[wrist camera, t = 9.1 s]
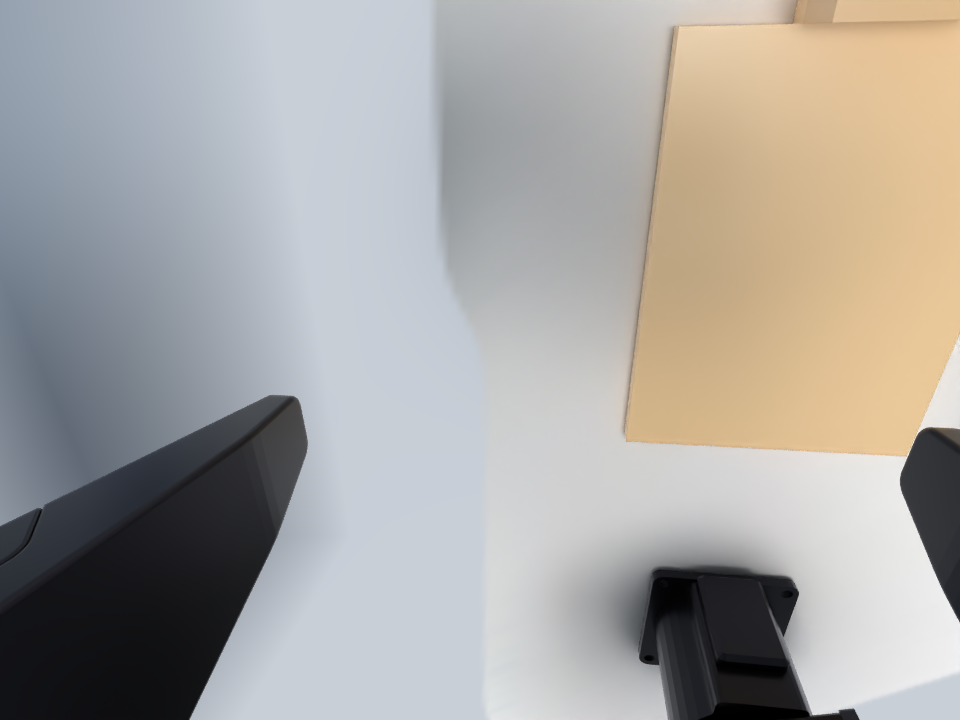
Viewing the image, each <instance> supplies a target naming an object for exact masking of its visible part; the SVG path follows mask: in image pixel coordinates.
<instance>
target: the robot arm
mask: <svg viewBox="0 0 960 720" xmlns="http://www.w3.org/2000/svg"><path fill="white" fill-rule="evenodd" d="M307 446H308V441H307V435H306V430H305V425H304V420H303V415H302V410H301V405H300V403H299V400H298V399H297V398H296V397H294V396H283V395H270V396H268V397H265V398H263V399H261V400H259V401H257V402H255V403H253V404H251V405H249V406H247V407H245V408H243V409H241V410H238V411H236V412H234V413H233V414H230V415H228V416H227V417H224V418H222V419H220V420H218V421H216V422H214V423H212V424H210V425H208V426H206V427H203V428H201V429H199V430H197V431H195V432H193V433H191V434H189V435H187V436H185V437H183V438H181V439H179V440H177V441H175V442H173V443H171V444H169V445H166V446H164V447H162V448H160V449H158V450H156V451H154V452H152V453H150V454H148V455H146V456H144V457H142V458H140V459H138V460H136V461H134V462H132V463H129V464H127V465H125V466H123V467H121V468H119V469H117V470H115V471H113V472H111V473H109V474H107V475H105V476H103V477H101V478H99V479H97V480H95V481H93V482H90V483H88V484H86V485H84V486H82V487H80V488H78V489H76V490H74V491H72V492H70V493H68V494H66V495H64V496H62V497H60V498H57V499H55V500H53V501H51V502H49V503H47V504H45V505H44V507H43V509H41V508H37V509H34V510H32V511H30V512H28V513H26V514H24V515H22V516H20V517H18V518H16V519H14V520H12V521H10V522H8V523H6V524H4V525H2V526H0V720H190V718H191V715H192V713H193V711H194V709H195V707H196V705H197V703H198V701H199V699H200V697H201V695H202V693H203V691H204V689H205V686H206V684H207V682H208V680H209V678H210V676H211V674H212V672H213V670H214V668H215V666H216V664H217V662H218V659H219V657H220V655H221V653H222V651H223V649H224V647H225V645H226V643H227V641H228V639H229V637H230V635H231V632H232V630H233V628H234V626H235V624H236V622H237V620H238V618H239V616H240V614H241V612H242V610H243V608H244V605H245V603H246V601H247V599H248V597H249V595H250V593H251V591H252V589H253V587H254V585H255V583H256V580H257V578H258V576H259V574H260V572H261V570H262V568H263V566H264V564H265V562H266V560H267V558H268V556H269V554H270V551H271V549H272V547H273V545H274V543H275V540H276V538H277V535H278V533H279V530H280V528H281V525H282V522H283V520H284V517H285V514H286V511H287V508H288V505H289V502H290V500H291V497H292V494H293V491H294V488H295V485H296V482H297V479H298V476H299V474H300V470H301V468H302V465H303V462H304V459H305V456H306V453H307ZM900 486H901V491H902V494H903V496H904V499H905V501H906V504H907V506H908V508H909V511H910V513H911V516H912V518H913V521H914V523H915V525H916V528H917V530H918V533H919V535H920V538H921V540H922V542H923V545H924V547H925V550H926V552H927V555H928V557H929V559H930V562H931V564H932V567H933V569H934V572H935V574H936V576H937V578H938V581H939V583H940V585H941V587H942V589H943V591H944V593H945V595H946V597H947V599H948V601H949V603H950V605H951V607H952V609H953V611H954V613H955V614H956V616H957V618H958V620H959V622H960V429H954V428H933V427H929V428H925V429H923V430H921V431H920V432H919V433H918V435H917V437H916V439H915V441H914V444H913V446H912V448H911V451H910V453H909V455H908V458H907V460H906V462H905V465H904V467H903V469H902V472H901V476H900ZM798 596H799V591H798V589H797V587H796V585H795V583H794V582H793V581H791V580H785V579H773V578H760V577H747V576H734V575H721V574H708V573H696V572H683V571H670V570H659V571H656V572H654V573H653V574H652V576H651V582H650V587H649V593H648V599H647V604H646V610H645V615H644V621H643V627H642V632H641V638H640V644H639V649H638V651H639V659H640V661H641V662H643V663H645V664H652V665H659V666H660V672H661V678H662V684H663V691H664V697H665V703H666V709H667V715H668V720H859V718H858V716H857V714H856V712H855V710H854V709H843V710H839V713H832V714H822V715H812V712H811V710H810V707H809V704H808V702H807V699H806V696H805V694H804V691H803V688H802V686H801V683H800V680H799V678H798V675H797V672H796V670H795V667H794V664H793V662H792V659H791V656H790V654H789V651H788V648H787V646H786V643H785V640H784V638H783V637H784V634H785V632H786V629H787V626H788V623H789V621H790V618H791V615H792V612H793V610H794V607H795V604H796V601H797V599H798Z"/></svg>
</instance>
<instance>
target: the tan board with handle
mask: <svg viewBox="0 0 960 720" xmlns="http://www.w3.org/2000/svg"><path fill="white" fill-rule="evenodd" d="M959 334H960V0H798V2H797V6H796V11H795V16H794V21H793V24H760V25H718V26H677V27H674V35H673V43H672V51H671V59H670V67H669V75H668V83H667V92H666V100H665V108H664V116H663V124H662V132H661V140H660V148H659V156H658V164H657V172H656V180H655V189H654V197H653V205H652V213H651V221H650V229H649V237H648V245H647V253H646V261H645V269H644V277H643V286H642V294H641V302H640V310H639V318H638V326H637V334H636V342H635V350H634V358H633V366H632V374H631V382H630V391H629V399H628V407H627V415H626V423H625V431H624V433H625V439H626V441H627V442H646V443H665V444H683V445H702V446H721V447H740V448H758V449H777V450H796V451H815V452H833V453H852V454H871V455H890V456H907V454H908V452H909V450H910V447H911V445H912V443H913V441H914V438H915V436H916V434H917V431H918V429H919V427H920V424H921V422H922V420H923V417H924V415H925V413H926V410H927V408H928V406H929V403H930V401H931V399H932V396H933V394H934V392H935V390H936V387H937V385H938V383H939V380H940V378H941V376H942V373H943V371H944V369H945V366H946V364H947V362H948V359H949V357H950V355H951V352H952V350H953V348H954V345H955V343H956V341H957V339H958V336H959Z"/></svg>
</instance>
